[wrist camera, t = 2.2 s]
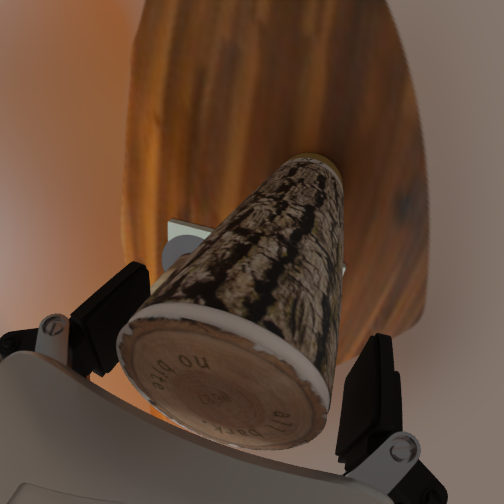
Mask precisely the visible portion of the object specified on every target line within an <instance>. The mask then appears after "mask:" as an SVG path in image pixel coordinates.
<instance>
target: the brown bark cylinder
mask: <svg viewBox="0 0 504 504" xmlns="http://www.w3.org/2000/svg"><path fill="white" fill-rule="evenodd" d="M343 246H344V203H343V182H342V177H341V175H340V172H339V170H338V169H337V167H336V166H335V165H334V164H333V163H332V162H331V161H330V160H329V159H327V158H326V157H324V156H322V155H319V154H315V153H302V154H298V155H295V156H293V157H291V158H290V159H288V160H287V161H286V162H285V163H284V164H283V165H282V166H280V167H279V169H277V170H276V171H275V172H274V173H273V174H272V175H271V176H270V177H268V178H267V179H266V180H265V181H264V182H263V183H262V184H261V185H260V186H259V187H258V188H257V189H256V190H255V191H254V192H253V193H252V194H251V195H250V196H248V197H247V198H246V199H245V200H244V201H243V202H242V203H241V204H240V205H239V206H238V207H237V208H236V209H235V210H234V211H233V212H232V213H231V214H230V215H229V216H228V217H227V218H226V219H225V220H224V221H223V222H222V223H221V224H220V225H219V226H218V227H217V228H216V229H215V230H214V231H213V232H212V233H211V234H210V235H209V236H208V237H207V238H206V239H205V240H204V241H203V242H202V243H201V244H200V245H199V246H198V247H197V248H196V249H195V250H194V251H193V252H192V253H191V254H190V255H189V256H188V257H187V258H186V259H185V260H184V261H183V262H182V263H181V264H180V265H179V266H178V267H177V268H176V269H175V270H174V271H173V272H172V274H171V275H170V276H169V277H168V278H167V279H166V280H165V281H164V282H163V283H162V284H161V285H160V286H159V287H158V288H157V289H156V290H155V291H154V293H153V294H152V295H151V296H150V297H149V298H148V299H147V300H146V301H145V302H144V303H143V304H142V305H141V306H140V308H139V309H138V310H137V311H136V312H135V313H134V314H133V315H132V316H131V318H130V319H129V321H128V322H127V324H126V325H125V326H124V327H123V328H122V329H121V331H120V332H119V335H118V337H117V342H116V349H117V355H118V359H119V362H120V364H121V367H122V369H123V371H124V373H125V374H126V376H127V378H128V379H129V381H130V382H131V383H132V385H133V386H134V387H135V388H136V390H137V391H138V392H139V393H140V394H141V395H142V396H143V397H144V398H145V399H146V400H147V401H148V402H149V403H150V404H151V405H152V406H153V407H155V408H156V409H157V410H158V411H160V412H161V413H162V414H164V415H165V416H166V417H168V418H169V419H171V420H172V421H174V422H176V423H177V424H179V425H181V426H182V427H184V428H186V429H188V430H190V431H192V432H194V433H196V434H198V435H201V436H203V437H205V438H208V439H211V440H213V441H216V442H219V443H223V444H226V445H230V446H235V447H239V448H245V449H252V450H283V449H289V448H294V447H297V446H300V445H303V444H305V443H308V442H309V441H311V440H313V439H314V438H316V437H317V436H318V435H319V434H320V433H321V432H322V430H323V429H324V427H325V424H326V421H327V414H328V411H329V409H330V403H331V396H332V389H333V382H334V374H335V366H336V357H337V348H338V338H339V326H340V313H341V298H342V279H343Z"/></svg>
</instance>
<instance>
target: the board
mask: <svg viewBox="0 0 504 504" xmlns="http://www.w3.org/2000/svg"><path fill="white" fill-rule="evenodd" d="M214 230H215V229H212V228H208V227H204V226H200V225H196V224H192V223H188V222H184V221H180V220H176V219H171V220H169V221H168V243H167V244H166V245H165V247H164V250H163V253H162V265H163V269H164V272H166V271H167V270H168V269H169V268H170V267H171V266H172V265H173V264H174V263H175V261H176V260H177V259H178V258H179V257H180V256H181V255H183V254H185V253H192V252H193V251H194V250H195V249H196V248H197V247H198V246H199V245H200V244H201V243H202V242H203V241H204V240H205V239H206V238H207V237H208V236H209V235H210V234H211V233H212V232H213V231H214ZM345 268H346V264H345V263H343V274H344V271H345Z"/></svg>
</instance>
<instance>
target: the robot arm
mask: <svg viewBox="0 0 504 504" xmlns="http://www.w3.org/2000/svg"><path fill="white" fill-rule="evenodd" d="M150 296H151V291H150V280H149V271H148V270H147V269H146V266H145V265H143V264H140V263H138V262H135V261H132V262H131V263H129V264H128V265H127V266H126V267H125V268H123V269H122V270H121V271H120V272H119V273H117V274H116V275H115V276H114V277H113V278H111V279H110V280H109V281H108V282H107V283H106V284H104V285H103V286H102V287H101V288H100V289H99V290H97V291H96V292H95V293H94V294H93V295H92V296H90V298H88V299H87V300H86V301H85V302H84V303H83V304H81V305H80V306H79V307H78V308H77V309H76V310H75V311H74V312H73V313H71V314H70V315H71V318H69V319H68V318H67V317H66V316H65V315H62V314H51V315H49V316H47V317H46V318H44V319H43V320H42V321H41V323H40V326H39V328H35V329H27V330H19V331H11V332H8V333H6V334H4V335H3V336H2V337H1V338H0V504H447V500H448V494H447V490H446V489H445V487H444V486H443V485H442V484H441V483H440V482H439V481H438V479H437V478H435V476H434V475H433V474H432V473H431V472H430V471H429V470H428V469H427V468H426V467H425V466H424V465H423V463H422V462H421V461H420V460H419V457H420V453H421V448H420V444H419V441H418V440H417V439H416V437H415V436H413V435H412V434H410V433H408V432H403V429H402V428H403V426H402V397H401V383H400V382H401V381H400V374H399V372H398V371H394V361H393V360H394V359H393V348H392V339H391V336H388V335H384V334H380V333H377V334H376V335H375V336H370V338H369V340H368V342H367V343H366V345H365V347H364V349H363V350H362V352H361V354H360V356H359V357H358V359H357V361H356V362H355V364H354V366H353V367H352V369H351V371H350V372H349V374H348V375H347V377H346V380H345V384H344V392H343V402H342V409H341V417H340V426H339V432H338V438H337V445H336V452H335V454H336V455H337V456H339V458H338V462H339V463H345V470H346V472H344V473H343V474H342V475H337V474H333V473H328V472H323V471H318V470H313V469H308V468H304V467H299V466H294V465H290V464H286V463H283V462H279V461H274V460H271V459H266V458H263V457H260V456H256V455H253V454H249V453H246V452H243V451H240V450H237V449H234V448H231V447H227V446H225V445H222V444H219V443H216V442H213V441H211V440H208V439H205V438H203V437H200V436H198V435H195V434H192V433H190V432H188V431H185V430H183V429H181V428H178V427H176V426H174V425H172V424H169V423H167V422H165V421H163V420H161V419H159V418H157V417H154V416H152V415H150V414H148V413H146V412H144V411H142V410H140V409H138V408H137V407H135V406H133V405H131V404H129V403H127V402H125V401H123V400H122V399H120V398H118V397H116V396H115V395H113V394H111V393H109V392H108V391H106V390H104V389H103V388H101V387H99V386H98V385H96V384H94V383H93V382H91V381H90V373H91V372H92V371H93V372H94V373H96V374H97V375H99V376H101V377H103V376H104V375H105V373H109V372H110V371H111V370H112V369H113V368H114V367H115V365H116V364H117V363H118V362H119V359H118V355H117V349H116V342H117V337H118V335H119V332H120V331H121V329H122V328H123V327H124V326H125V325H126V324H127V322H128V321H129V319H130V318H131V316H132V315H133V314H134V313H135V312H136V311H137V310H138V309H139V308H140V306H141V305H142V304H143V303H144V302H145V301H146V300H147V299H148V298H149V297H150Z"/></svg>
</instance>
